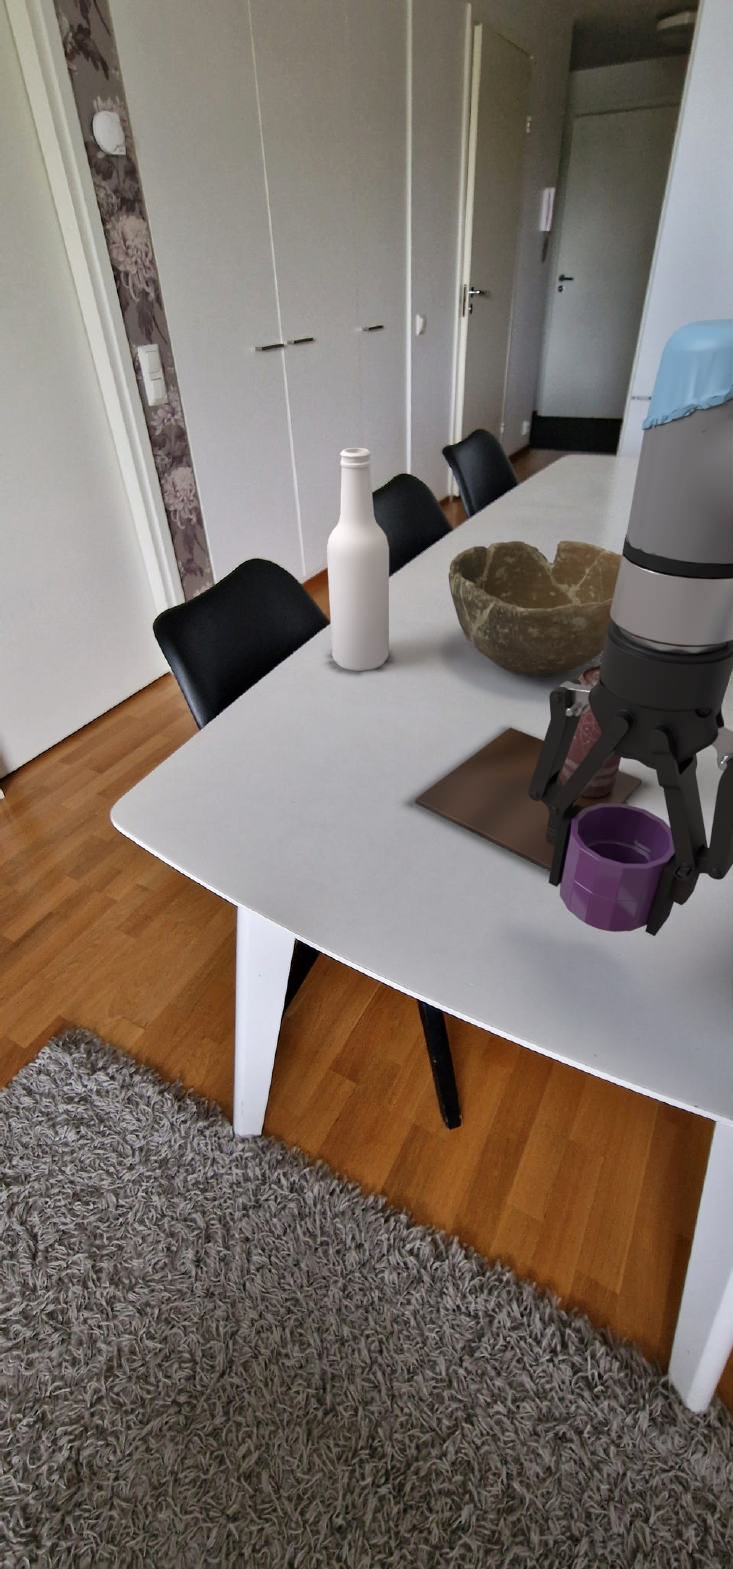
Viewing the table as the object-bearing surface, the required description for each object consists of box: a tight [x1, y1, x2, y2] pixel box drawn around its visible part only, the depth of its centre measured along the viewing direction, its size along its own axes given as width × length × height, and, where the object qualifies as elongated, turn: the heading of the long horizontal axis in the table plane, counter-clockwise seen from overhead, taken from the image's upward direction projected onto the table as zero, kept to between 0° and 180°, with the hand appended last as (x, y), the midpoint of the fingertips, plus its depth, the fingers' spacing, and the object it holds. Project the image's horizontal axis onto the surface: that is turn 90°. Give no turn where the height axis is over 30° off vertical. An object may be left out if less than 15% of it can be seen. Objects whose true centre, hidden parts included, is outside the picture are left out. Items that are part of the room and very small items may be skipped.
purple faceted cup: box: [559, 803, 675, 933], centre depth 54 cm, size 7×8×7 cm
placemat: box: [414, 727, 643, 872], centre depth 81 cm, size 18×20×1 cm
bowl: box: [447, 540, 622, 678], centre depth 103 cm, size 28×27×15 cm
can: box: [560, 665, 622, 798], centre depth 77 cm, size 6×6×14 cm
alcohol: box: [326, 447, 390, 672], centre depth 101 cm, size 9×9×30 cm
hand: (607, 898), depth 56 cm, fingers closed on purple faceted cup, 7 cm apart
